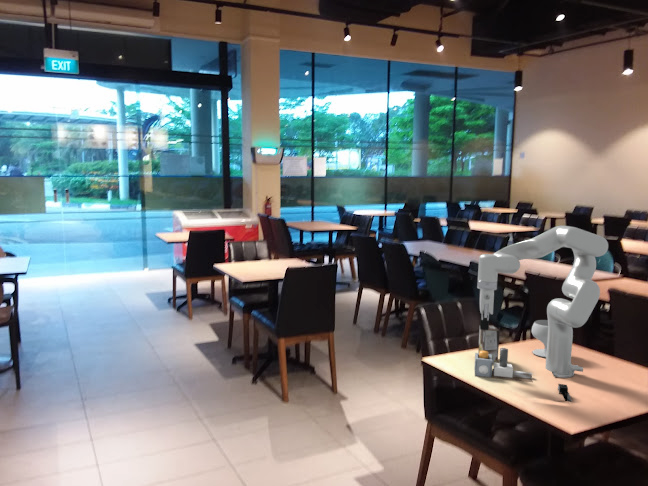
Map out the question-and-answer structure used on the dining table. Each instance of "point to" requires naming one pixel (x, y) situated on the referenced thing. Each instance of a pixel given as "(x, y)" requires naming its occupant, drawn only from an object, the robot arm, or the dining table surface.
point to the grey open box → (483, 366)
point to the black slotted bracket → (564, 392)
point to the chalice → (540, 336)
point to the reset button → (483, 354)
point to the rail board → (515, 376)
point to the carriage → (503, 365)
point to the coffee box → (490, 341)
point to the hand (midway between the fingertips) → (484, 329)
